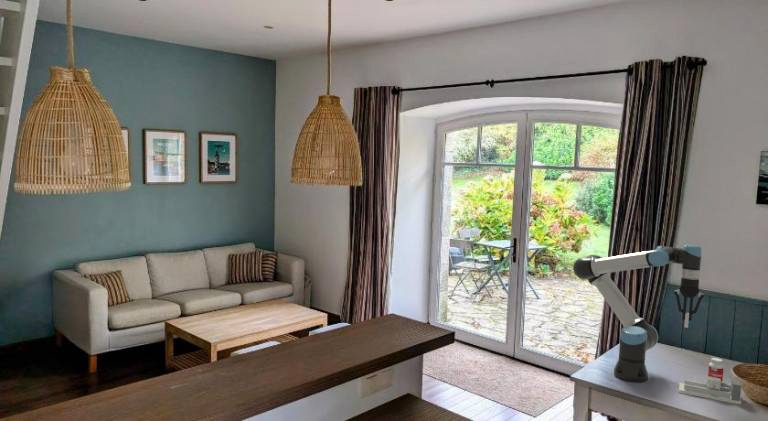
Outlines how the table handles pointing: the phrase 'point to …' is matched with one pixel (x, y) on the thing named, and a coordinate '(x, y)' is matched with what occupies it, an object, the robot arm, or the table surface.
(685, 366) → the table surface
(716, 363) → the pill bottle
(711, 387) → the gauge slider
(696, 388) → the base
